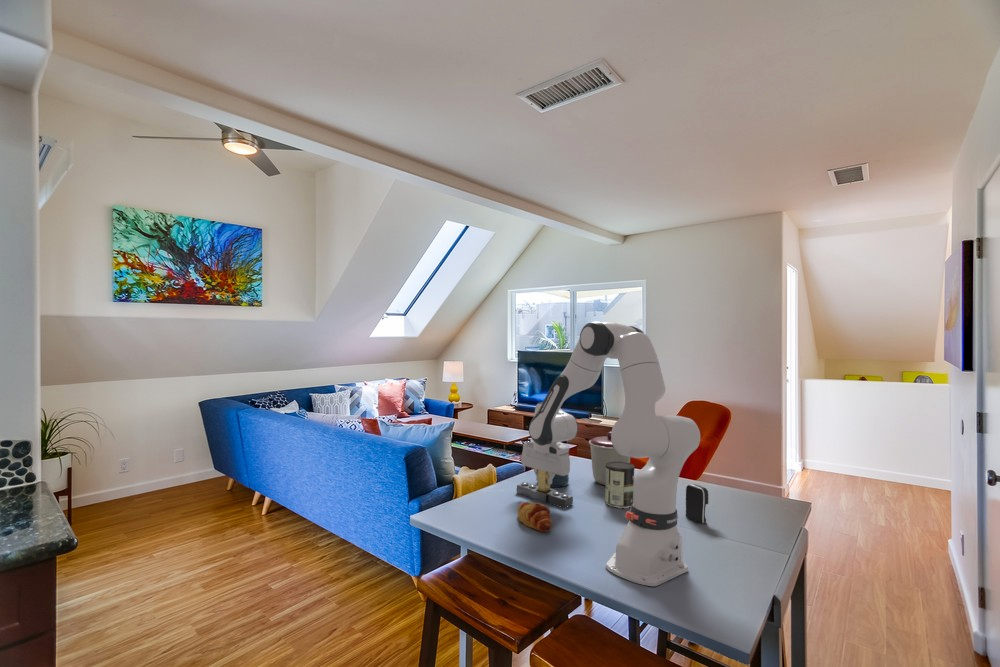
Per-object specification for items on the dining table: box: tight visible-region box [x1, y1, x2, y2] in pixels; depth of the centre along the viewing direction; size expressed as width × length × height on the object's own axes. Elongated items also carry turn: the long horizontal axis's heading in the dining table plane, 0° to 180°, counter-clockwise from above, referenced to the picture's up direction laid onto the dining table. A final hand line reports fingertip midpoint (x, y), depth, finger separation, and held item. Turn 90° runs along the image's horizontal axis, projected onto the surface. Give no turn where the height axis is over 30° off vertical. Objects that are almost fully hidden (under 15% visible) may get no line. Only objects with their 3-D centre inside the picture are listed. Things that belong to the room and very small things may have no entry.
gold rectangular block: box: [537, 470, 551, 493], centre depth 176 cm, size 3×3×9 cm
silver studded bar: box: [516, 481, 574, 509], centre depth 176 cm, size 7×22×4 cm, turn 48°
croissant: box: [517, 501, 553, 533], centre depth 154 cm, size 21×10×8 cm, turn 21°
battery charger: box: [685, 483, 709, 524], centre depth 159 cm, size 7×4×11 cm, turn 26°
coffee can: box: [604, 461, 636, 509], centre depth 173 cm, size 10×10×14 cm
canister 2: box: [588, 431, 631, 486], centre depth 198 cm, size 18×18×21 cm
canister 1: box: [550, 452, 571, 488], centre depth 195 cm, size 13×13×18 cm
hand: (544, 482), depth 176 cm, fingers closed on gold rectangular block, 3 cm apart
